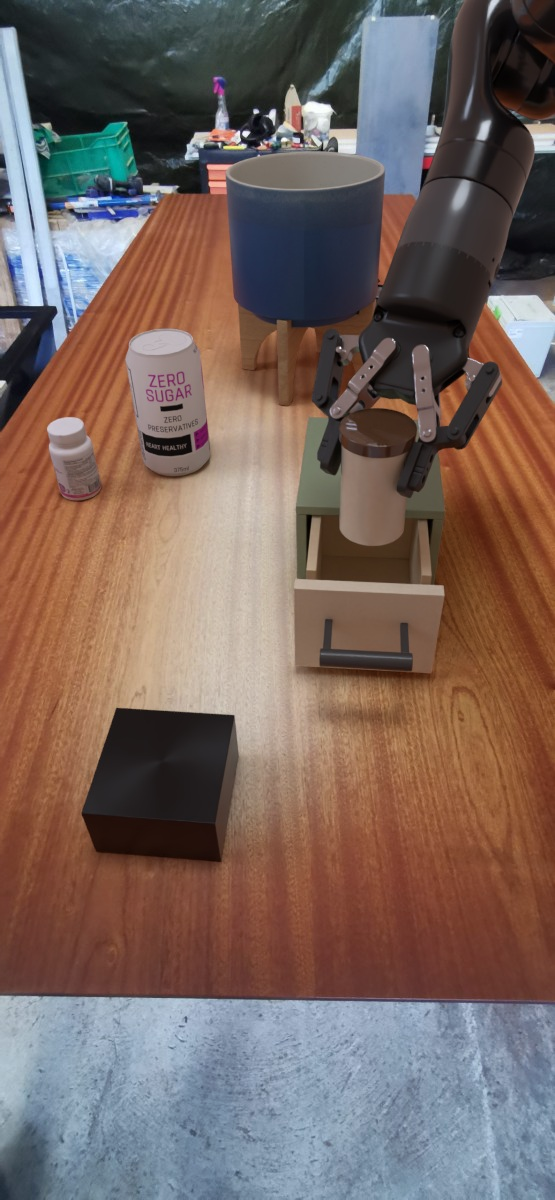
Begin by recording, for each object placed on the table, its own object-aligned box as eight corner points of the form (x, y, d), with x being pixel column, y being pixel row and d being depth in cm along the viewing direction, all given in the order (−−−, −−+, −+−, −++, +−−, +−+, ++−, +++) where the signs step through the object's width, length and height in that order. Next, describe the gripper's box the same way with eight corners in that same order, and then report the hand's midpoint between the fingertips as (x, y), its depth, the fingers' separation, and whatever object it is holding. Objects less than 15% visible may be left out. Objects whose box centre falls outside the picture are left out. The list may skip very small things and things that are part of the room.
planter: (265, 341, 116) (258, 148, 98) (385, 355, 111) (400, 154, 93) (218, 396, 102) (199, 184, 85) (352, 415, 97) (362, 194, 80)
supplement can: (185, 436, 94) (170, 320, 84) (224, 462, 90) (213, 341, 80) (131, 459, 91) (109, 340, 81) (168, 487, 86) (150, 364, 76)
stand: (238, 754, 58) (234, 714, 54) (221, 861, 51) (215, 823, 48) (127, 747, 59) (116, 707, 55) (95, 851, 52) (80, 813, 49)
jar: (405, 507, 61) (415, 408, 55) (407, 549, 57) (418, 447, 51) (337, 505, 62) (340, 406, 56) (335, 546, 58) (337, 445, 52)
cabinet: (431, 604, 70) (445, 511, 63) (297, 598, 71) (295, 506, 64) (423, 507, 82) (434, 419, 74) (308, 503, 83) (308, 416, 76)
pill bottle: (57, 484, 87) (40, 420, 81) (97, 475, 88) (83, 411, 83) (64, 505, 84) (46, 440, 78) (105, 496, 85) (91, 431, 79)
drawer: (434, 717, 59) (449, 639, 53) (290, 708, 60) (288, 631, 54) (423, 563, 73) (433, 488, 67) (306, 558, 74) (306, 484, 68)
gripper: (341, 224, 53) (262, 444, 54) (538, 253, 48) (448, 498, 48) (368, 277, 60) (298, 471, 61) (544, 307, 55) (464, 521, 55)
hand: (365, 482), depth 55 cm, fingers closed on jar, 5 cm apart
